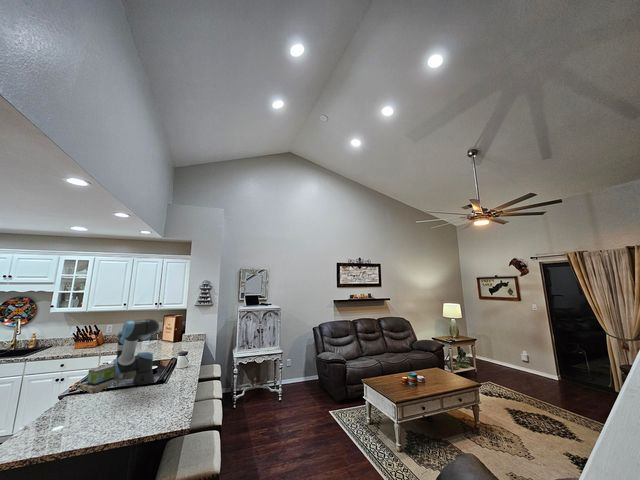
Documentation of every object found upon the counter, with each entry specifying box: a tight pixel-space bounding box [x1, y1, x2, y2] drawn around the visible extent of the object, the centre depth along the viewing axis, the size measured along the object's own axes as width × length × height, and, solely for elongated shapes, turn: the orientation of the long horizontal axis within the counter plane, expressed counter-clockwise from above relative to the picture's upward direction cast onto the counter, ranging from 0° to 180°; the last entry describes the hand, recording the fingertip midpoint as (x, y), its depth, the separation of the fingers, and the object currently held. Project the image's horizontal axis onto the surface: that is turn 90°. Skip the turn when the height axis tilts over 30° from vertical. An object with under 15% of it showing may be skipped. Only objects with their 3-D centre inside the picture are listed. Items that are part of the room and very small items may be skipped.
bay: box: [79, 382, 109, 394], centre depth 218 cm, size 18×10×4 cm, turn 67°
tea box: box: [86, 364, 116, 387], centre depth 225 cm, size 15×10×15 cm, turn 162°
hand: (120, 377), depth 237 cm, fingers closed
